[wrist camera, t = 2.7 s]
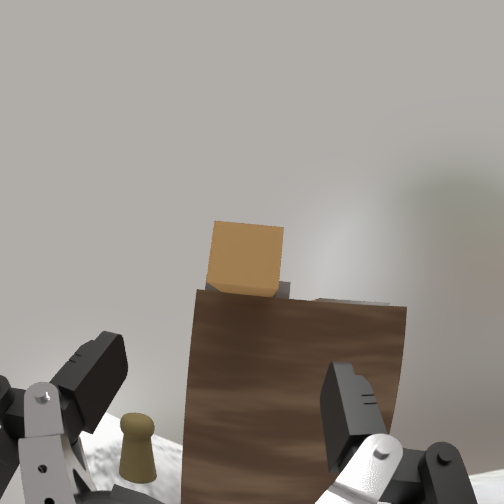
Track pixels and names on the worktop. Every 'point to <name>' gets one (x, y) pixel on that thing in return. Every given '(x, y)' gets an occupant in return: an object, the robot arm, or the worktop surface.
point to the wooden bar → (245, 258)
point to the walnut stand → (276, 390)
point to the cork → (137, 449)
